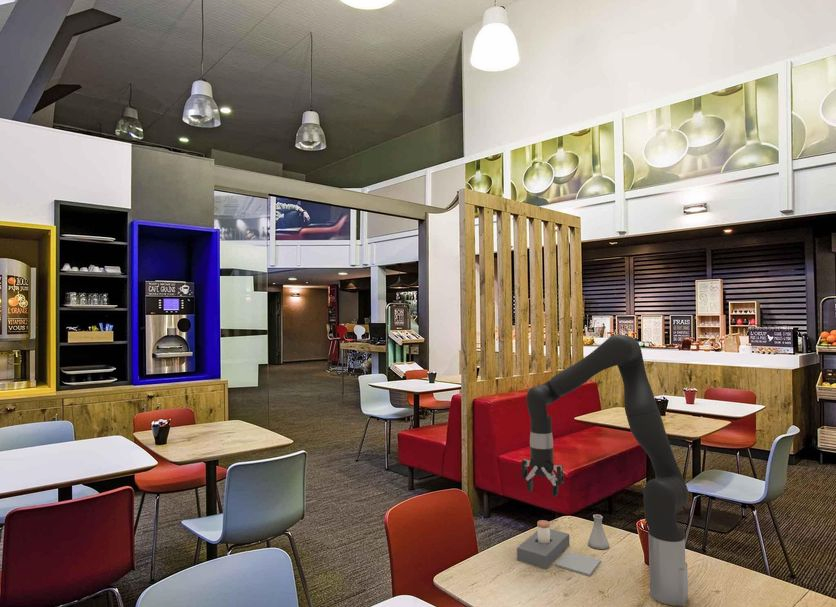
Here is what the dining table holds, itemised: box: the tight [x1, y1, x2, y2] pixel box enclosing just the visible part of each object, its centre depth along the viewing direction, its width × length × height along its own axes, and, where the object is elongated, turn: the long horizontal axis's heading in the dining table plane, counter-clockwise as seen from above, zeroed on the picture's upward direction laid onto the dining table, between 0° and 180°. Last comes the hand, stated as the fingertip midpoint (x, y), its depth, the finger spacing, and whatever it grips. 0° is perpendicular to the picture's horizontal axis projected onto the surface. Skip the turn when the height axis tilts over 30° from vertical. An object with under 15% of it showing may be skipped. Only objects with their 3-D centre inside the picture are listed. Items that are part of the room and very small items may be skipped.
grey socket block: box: [516, 528, 571, 570], centre depth 170 cm, size 10×20×4 cm, turn 143°
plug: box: [536, 519, 551, 545], centre depth 170 cm, size 4×4×10 cm
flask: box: [587, 514, 610, 550], centre depth 175 cm, size 7×7×10 cm
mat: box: [554, 550, 602, 577], centre depth 162 cm, size 11×11×1 cm
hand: (542, 493), depth 170 cm, fingers open, 8 cm apart
